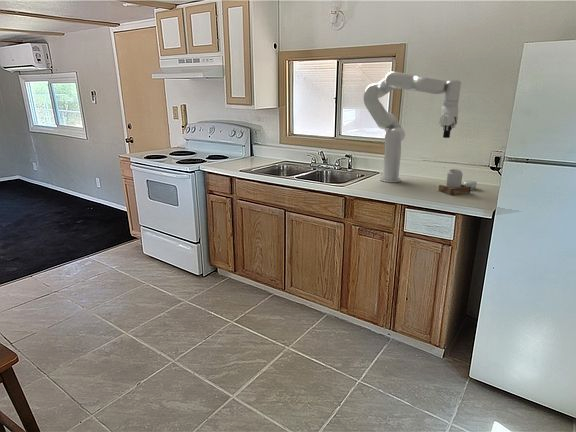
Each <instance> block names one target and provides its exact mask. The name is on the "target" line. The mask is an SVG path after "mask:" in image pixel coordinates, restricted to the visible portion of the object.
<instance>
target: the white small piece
mask: <svg viewBox="0 0 576 432" xmlns="http://www.w3.org/2000/svg"><path fill="white" fill-rule="evenodd" d="M462 184H463V185H466V186H469V187H471V190H470V191H476V189H477V185H478V182H477V181H475V180H472V179H471V180H469V179H468V180H462Z"/></svg>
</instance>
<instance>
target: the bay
mask: <svg viewBox="0 0 576 432" xmlns="http://www.w3.org/2000/svg"><path fill="white" fill-rule="evenodd" d="M471 191H472V190H471V187H469V186H466V185H463V183H461V187H460V188H450V187H447V186H446V185H444V184H438V192H441V193H444V194H446V195H449V196H459V195H466V194H471Z"/></svg>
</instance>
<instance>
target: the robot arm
mask: <svg viewBox="0 0 576 432" xmlns="http://www.w3.org/2000/svg"><path fill="white" fill-rule="evenodd" d="M384 77H385V78H383V79H381V80H380V81H379V82H377V83H371V84H369V85H367V87H366V88H365V91H364V93H363V103H364V106H365V107H366V110H368V111H367V112H368V113H369V114H370V116H371V117H372V119H373V120H374V122H375V124H376V125H377V127H378V128H379V129H382V130H383V131H385V135H384V154H383V155H384V158H383V170H382V172H381V173H380V175H381V177H380V178H379V180H380V181H381V182H385V183H400V182H402V178H401V177H400V168H401V167H400V166H401V156H402V141H403V140H404V139H405V136H406V135H405V134H406V133H405V130H404V128H403V126H402V125H401V124H400V122H399V121H398V119H397V117H396V116H395V115H394V114H393V113H392V112H388V111H387V110H386V109H385V106H384V105H383V104H382V103H381V101H380V100H379V99H381V98H382V97H384V96H386V95H387V94H389V93H390V92H392V91H394V90H395V89H400V90H406V91H412V92H421V93H425V94H431V95H432V94H433V95H443V94H444V99H443V105H442V107H441V110H440V113H439V121H438V124H439V125H440V126H441V127H442V128H443V129H442V130H443V135H442V138H444V139H450V138H451V131H452V130H453V129H455V128H456V125H457V124H458V120H459V101H460V100H459V99H460V94H461V93H460V92H461V87H462V81H461V80H458V79H457V80H455V79H452V80H450V79H449V80H444V79H436V78H429V77H424V76H420V75H416V74H413V73H404V72H399V71H390V72H387V74H386V75H385V76H384Z"/></svg>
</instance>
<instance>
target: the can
mask: <svg viewBox="0 0 576 432" xmlns="http://www.w3.org/2000/svg"><path fill="white" fill-rule="evenodd" d="M463 175H464V174H463V172H462V170H461V169H457V168H454V169H449V171H447V176H446V183H445V186H447V187H450V188H460V187H461V184H463Z"/></svg>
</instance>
